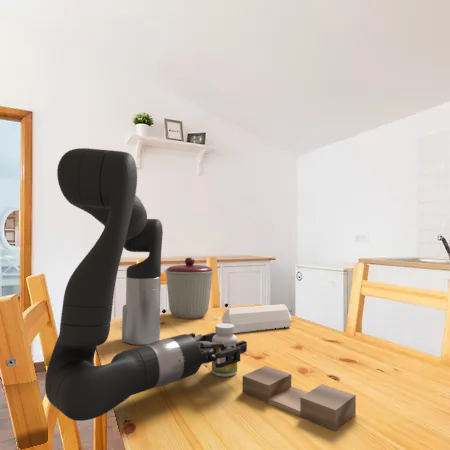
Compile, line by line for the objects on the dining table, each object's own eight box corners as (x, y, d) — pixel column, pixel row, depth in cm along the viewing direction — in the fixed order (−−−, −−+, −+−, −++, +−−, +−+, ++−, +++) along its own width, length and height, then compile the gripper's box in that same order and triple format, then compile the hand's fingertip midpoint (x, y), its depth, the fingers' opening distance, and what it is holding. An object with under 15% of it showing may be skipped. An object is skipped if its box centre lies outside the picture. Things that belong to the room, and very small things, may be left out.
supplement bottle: (234, 378, 69) (235, 329, 70) (208, 376, 70) (209, 327, 71) (239, 368, 75) (239, 323, 75) (214, 366, 76) (215, 321, 76)
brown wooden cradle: (335, 431, 51) (335, 410, 51) (242, 392, 63) (242, 375, 63) (355, 414, 56) (355, 395, 56) (265, 381, 68) (265, 365, 68)
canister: (186, 324, 112) (187, 259, 113) (153, 315, 125) (154, 257, 125) (224, 315, 125) (224, 257, 126) (191, 308, 138) (191, 255, 139)
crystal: (280, 310, 119) (215, 315, 109) (290, 302, 113) (223, 307, 103) (286, 331, 115) (219, 339, 105) (297, 325, 109) (228, 332, 100)
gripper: (195, 347, 58) (256, 330, 69) (147, 331, 67) (207, 318, 79) (195, 393, 57) (256, 368, 69) (146, 370, 67) (207, 351, 79)
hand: (230, 341), depth 74 cm, fingers open, 8 cm apart
